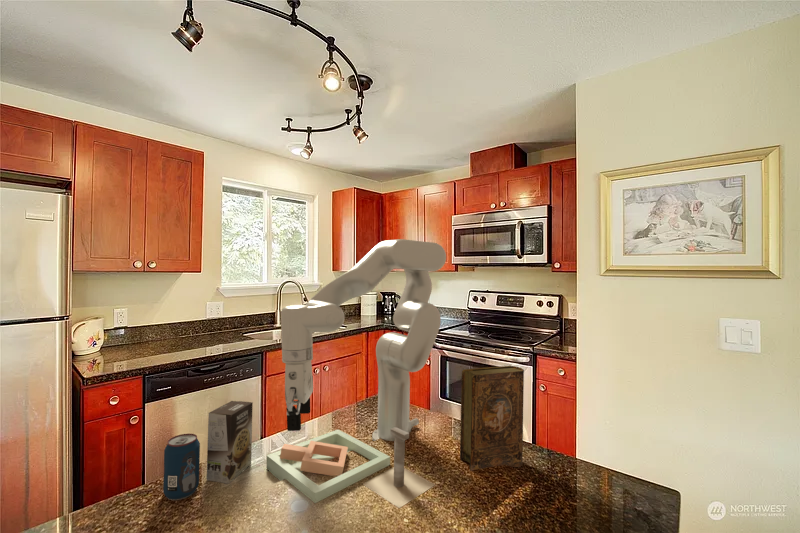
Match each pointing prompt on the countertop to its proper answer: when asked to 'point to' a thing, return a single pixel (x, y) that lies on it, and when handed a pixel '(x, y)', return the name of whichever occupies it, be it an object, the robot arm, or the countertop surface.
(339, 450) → the pink flat frame
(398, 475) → the stake stand
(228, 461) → the coffee box
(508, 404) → the book
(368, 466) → the tray
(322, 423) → the countertop surface
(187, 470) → the soda can
